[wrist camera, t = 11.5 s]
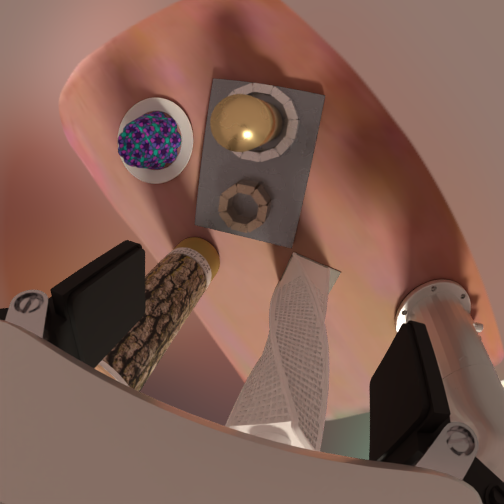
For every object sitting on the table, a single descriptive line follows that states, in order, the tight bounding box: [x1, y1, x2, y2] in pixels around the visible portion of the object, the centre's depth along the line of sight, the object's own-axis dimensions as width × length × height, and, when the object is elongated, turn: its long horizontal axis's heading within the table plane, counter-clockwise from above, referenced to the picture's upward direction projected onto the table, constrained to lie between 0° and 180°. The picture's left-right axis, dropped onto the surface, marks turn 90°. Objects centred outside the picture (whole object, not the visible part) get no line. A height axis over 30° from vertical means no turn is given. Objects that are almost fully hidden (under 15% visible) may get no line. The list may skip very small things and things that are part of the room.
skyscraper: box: [225, 252, 341, 452], centre depth 29 cm, size 8×8×28 cm
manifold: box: [195, 79, 325, 248], centre depth 34 cm, size 13×19×4 cm
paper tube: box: [94, 237, 220, 392], centre depth 33 cm, size 7×7×25 cm
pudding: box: [118, 98, 193, 184], centre depth 36 cm, size 12×12×5 cm
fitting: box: [210, 94, 283, 152], centre depth 28 cm, size 5×5×10 cm
